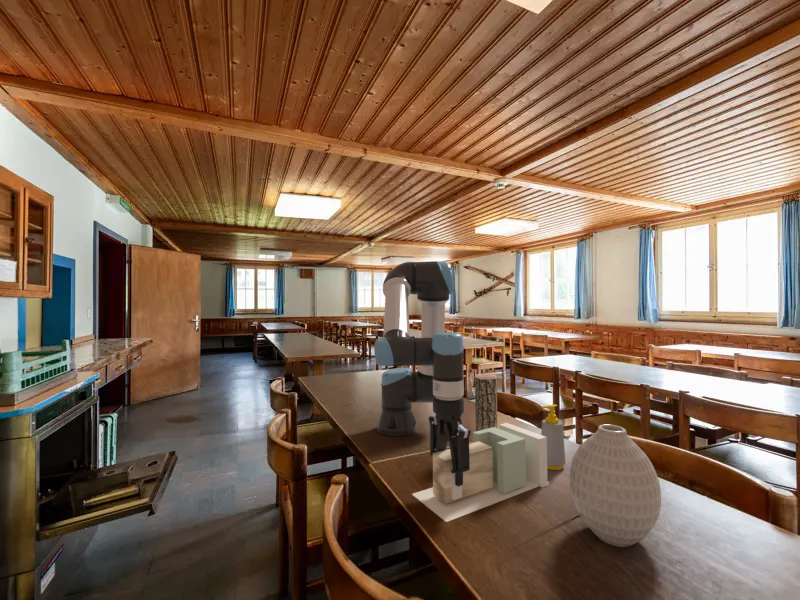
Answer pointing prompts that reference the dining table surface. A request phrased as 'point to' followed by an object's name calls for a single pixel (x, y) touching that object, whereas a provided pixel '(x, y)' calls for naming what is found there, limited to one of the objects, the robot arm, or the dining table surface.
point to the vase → (615, 487)
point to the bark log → (485, 401)
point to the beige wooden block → (472, 479)
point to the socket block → (505, 457)
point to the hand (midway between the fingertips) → (449, 492)
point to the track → (471, 503)
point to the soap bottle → (554, 440)
